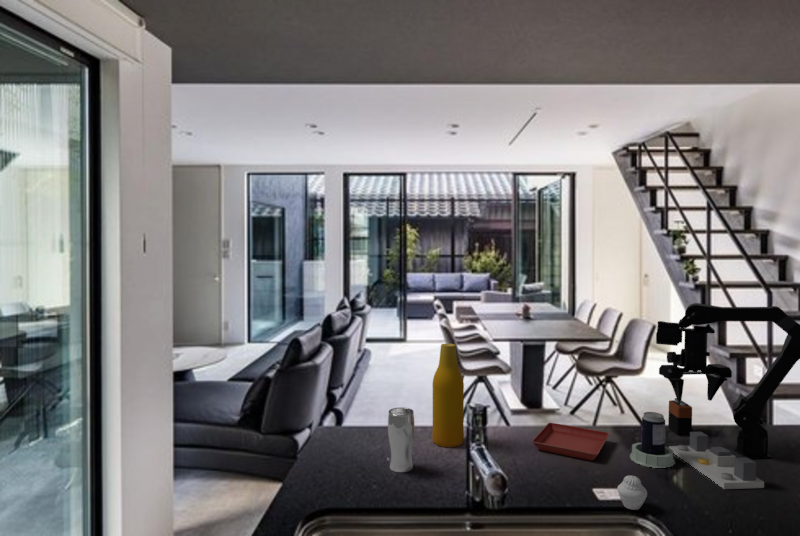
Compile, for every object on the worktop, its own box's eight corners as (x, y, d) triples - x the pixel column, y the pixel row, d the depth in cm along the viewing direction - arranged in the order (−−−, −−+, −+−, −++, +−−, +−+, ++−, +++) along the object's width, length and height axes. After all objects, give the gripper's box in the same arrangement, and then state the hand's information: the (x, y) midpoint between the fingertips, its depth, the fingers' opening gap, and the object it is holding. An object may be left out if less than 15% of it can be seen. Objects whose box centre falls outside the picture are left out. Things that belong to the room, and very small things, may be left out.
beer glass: (418, 464, 141) (418, 409, 140) (407, 475, 134) (407, 417, 134) (394, 460, 144) (394, 405, 143) (383, 470, 137) (383, 413, 137)
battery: (681, 428, 168) (682, 397, 167) (692, 436, 161) (693, 404, 161) (667, 428, 168) (668, 397, 168) (677, 436, 161) (678, 403, 161)
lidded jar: (629, 515, 114) (630, 483, 114) (610, 501, 120) (611, 471, 120) (653, 511, 116) (654, 479, 116) (634, 498, 122) (634, 468, 122)
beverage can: (662, 455, 145) (663, 412, 145) (666, 463, 140) (666, 419, 139) (640, 453, 147) (640, 410, 146) (642, 461, 142) (643, 416, 141)
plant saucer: (597, 465, 141) (597, 453, 141) (530, 452, 150) (531, 440, 150) (609, 443, 156) (610, 432, 156) (548, 432, 166) (548, 422, 165)
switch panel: (669, 451, 149) (669, 431, 149) (703, 450, 150) (703, 430, 150) (724, 489, 126) (724, 465, 126) (764, 487, 127) (764, 464, 127)
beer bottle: (429, 446, 154) (429, 346, 152) (436, 435, 163) (436, 341, 161) (460, 449, 151) (460, 348, 150) (466, 438, 160) (466, 342, 159)
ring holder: (660, 451, 149) (660, 441, 149) (683, 468, 138) (684, 456, 138) (622, 452, 148) (622, 442, 148) (642, 469, 137) (643, 458, 137)
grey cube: (722, 458, 140) (722, 446, 140) (730, 463, 137) (730, 451, 137) (710, 458, 140) (710, 447, 140) (718, 463, 136) (718, 451, 136)
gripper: (708, 341, 162) (707, 392, 162) (649, 342, 161) (648, 393, 161) (733, 348, 151) (732, 403, 151) (670, 349, 149) (669, 404, 150)
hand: (694, 400), depth 154 cm, fingers open, 9 cm apart
